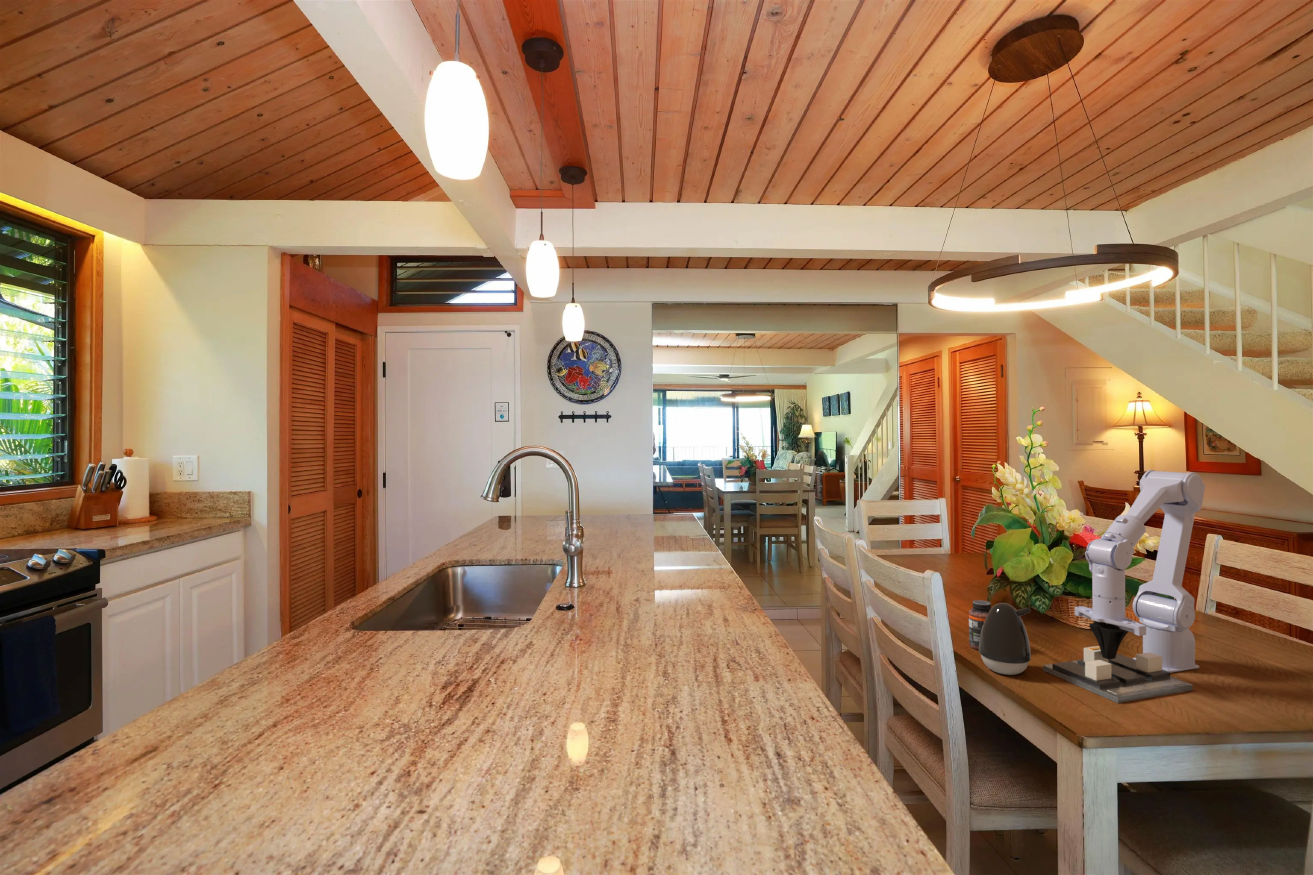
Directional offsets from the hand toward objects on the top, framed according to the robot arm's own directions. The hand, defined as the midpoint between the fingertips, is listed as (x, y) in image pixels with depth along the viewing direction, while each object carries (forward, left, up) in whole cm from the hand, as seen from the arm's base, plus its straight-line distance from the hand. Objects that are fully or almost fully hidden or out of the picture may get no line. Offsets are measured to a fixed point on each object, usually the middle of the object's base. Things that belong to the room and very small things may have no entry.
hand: (1108, 657), depth 134 cm
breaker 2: (-7, +3, -2) cm, 8 cm away
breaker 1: (+7, +3, -2) cm, 8 cm away
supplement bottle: (+12, -23, -5) cm, 26 cm away
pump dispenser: (+18, -10, -5) cm, 21 cm away
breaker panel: (0, +1, -4) cm, 5 cm away
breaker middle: (0, -3, -2) cm, 4 cm away
